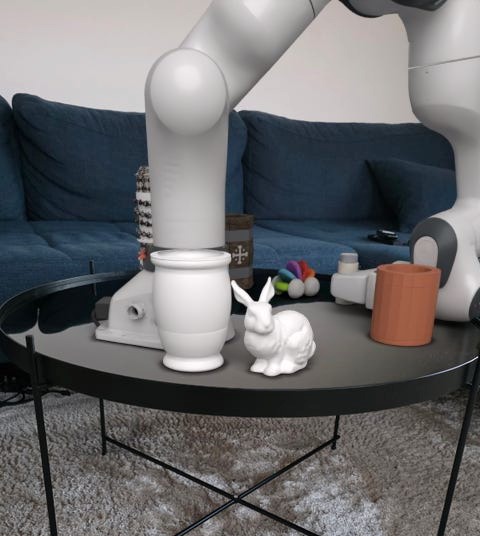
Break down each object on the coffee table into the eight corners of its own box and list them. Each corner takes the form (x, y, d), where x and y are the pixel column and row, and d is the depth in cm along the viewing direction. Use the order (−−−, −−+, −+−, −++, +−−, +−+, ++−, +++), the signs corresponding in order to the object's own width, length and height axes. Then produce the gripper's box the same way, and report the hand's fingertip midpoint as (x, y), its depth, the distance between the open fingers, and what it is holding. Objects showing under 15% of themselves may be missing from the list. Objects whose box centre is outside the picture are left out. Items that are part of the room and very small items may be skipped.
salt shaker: (334, 304, 118) (337, 255, 115) (336, 299, 122) (339, 252, 118) (354, 305, 118) (358, 256, 114) (355, 301, 121) (360, 253, 117)
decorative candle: (186, 305, 116) (182, 166, 106) (138, 306, 115) (130, 165, 105) (183, 295, 125) (179, 165, 114) (138, 296, 123) (131, 165, 113)
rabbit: (262, 383, 76) (264, 289, 71) (219, 365, 82) (218, 277, 78) (329, 366, 82) (335, 278, 78) (284, 350, 89) (288, 268, 84)
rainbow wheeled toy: (325, 296, 125) (327, 261, 122) (289, 301, 120) (290, 265, 117) (299, 289, 131) (301, 255, 128) (264, 294, 126) (265, 259, 123)
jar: (140, 368, 81) (133, 254, 75) (181, 348, 89) (178, 245, 83) (207, 380, 76) (205, 261, 70) (244, 359, 85) (245, 251, 79)
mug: (247, 279, 142) (248, 213, 136) (260, 290, 130) (261, 218, 124) (165, 281, 139) (162, 213, 133) (170, 293, 127) (167, 219, 121)
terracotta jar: (368, 343, 93) (375, 272, 88) (371, 328, 101) (378, 262, 97) (432, 348, 91) (442, 275, 86) (429, 332, 99) (439, 265, 95)
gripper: (435, 263, 114) (377, 254, 123) (370, 274, 101) (310, 264, 111) (431, 296, 116) (374, 285, 126) (366, 311, 104) (308, 298, 113)
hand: (343, 275), depth 118 cm, fingers closed on salt shaker, 4 cm apart
